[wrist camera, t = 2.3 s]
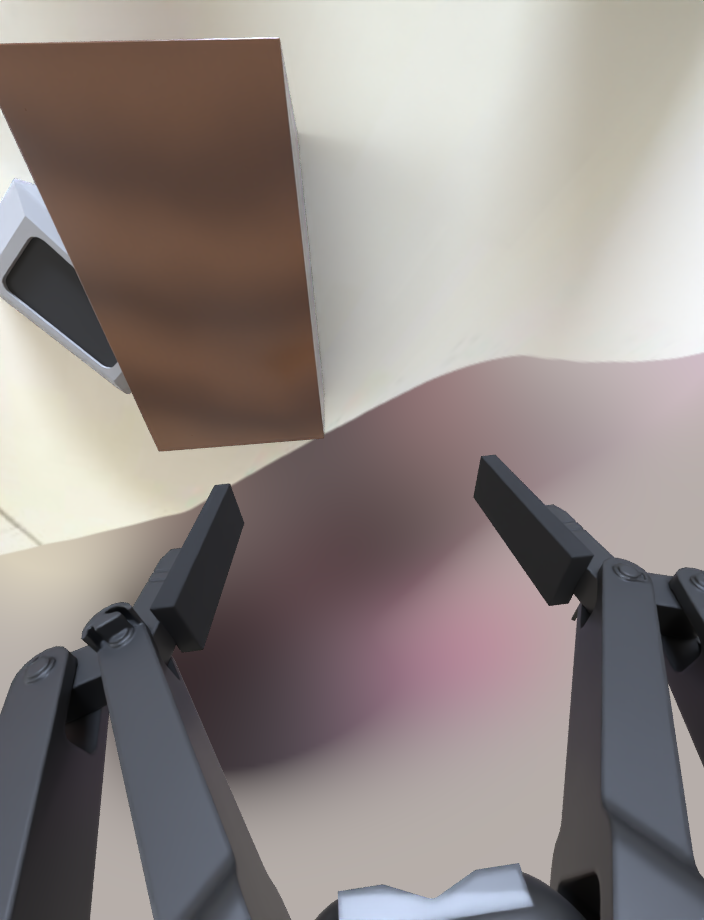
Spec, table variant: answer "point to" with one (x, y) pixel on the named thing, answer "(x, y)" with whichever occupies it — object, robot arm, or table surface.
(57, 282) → the grey box with recess
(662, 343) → the table surface
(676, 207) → the table surface
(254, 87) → the desk riser
